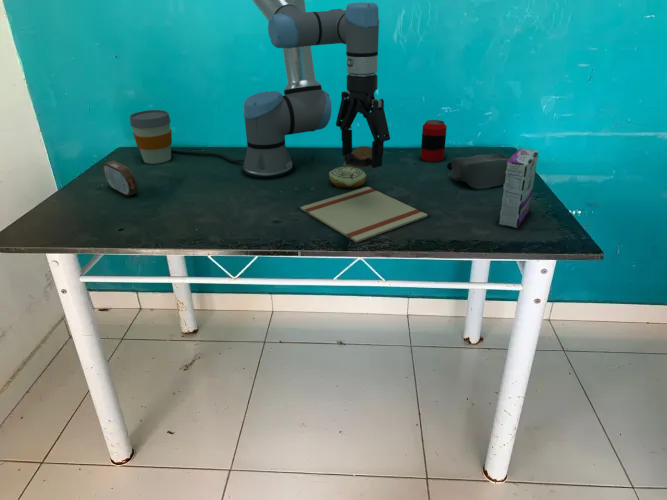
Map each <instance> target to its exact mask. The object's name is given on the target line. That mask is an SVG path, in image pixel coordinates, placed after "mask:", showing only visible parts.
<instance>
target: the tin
mask: <svg viewBox="0 0 667 500" xmlns="http://www.w3.org/2000/svg"><path fill="white" fill-rule="evenodd" d="M102 170H103V173H104V176H105V181H106V182H107V183H108V185H109V186H110V188H111V189H113V190H114V191H116V192H118V193H120V194H122V195H124V196H126V197H129V196H133V195H136V194H137V193H138V192H139V186H138V182H137V179H136V177H135V175H134V173H133V171H131V169H130V168H129V167H128V166H126V165H125V164H122V163H120V162H118V161H116V160H113V159H112V160H110V161H107V162H104V163H103V165H102Z"/></svg>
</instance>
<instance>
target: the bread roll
mask: <svg viewBox="0 0 667 500" xmlns="http://www.w3.org/2000/svg"><path fill="white" fill-rule="evenodd" d="M343 157H344V158H343V159H344V162H343V165H342V167H354V168H358V169H373V168H372V147H371V146H367V145H362V146H358V147H356V148H352V152H351V153H349V154H348V155H345V156H343Z"/></svg>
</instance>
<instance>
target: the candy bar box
mask: <svg viewBox="0 0 667 500" xmlns="http://www.w3.org/2000/svg"><path fill="white" fill-rule="evenodd" d="M539 152H540V150H536V149H535V150H534V149H528V148H518V149H517V150H516V152H515V153H514V154H512V156H510V159H509V160H508V161H507V164H506V172H505V179H504V185H503V188H502V196H501V203H500V211H499V219H498V225H500V226H503V227H508V228H513V229H518V228H519V227H520V225H522V222H523V221H524V220H525V218H526V216H527V215H528V214H529V212H530V207H531V202H532V195H533V189H534V183H535V178H536V177H535V176H536V171H537V163H538V159H539V158H538V157H539Z"/></svg>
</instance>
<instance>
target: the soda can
mask: <svg viewBox="0 0 667 500" xmlns="http://www.w3.org/2000/svg"><path fill="white" fill-rule="evenodd" d="M447 128H448V127H447V125H446V123H445V121H444V120H441V119H428V120H426V121H425V123H423V125H422V131H421V145H420V146H421V147H420V158H421V160H423V161H425V162H429V163H436V162H437V163H438V162H441V161H444V159H445V153H446V142H447V141H446V139H447V130H448V129H447Z"/></svg>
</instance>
